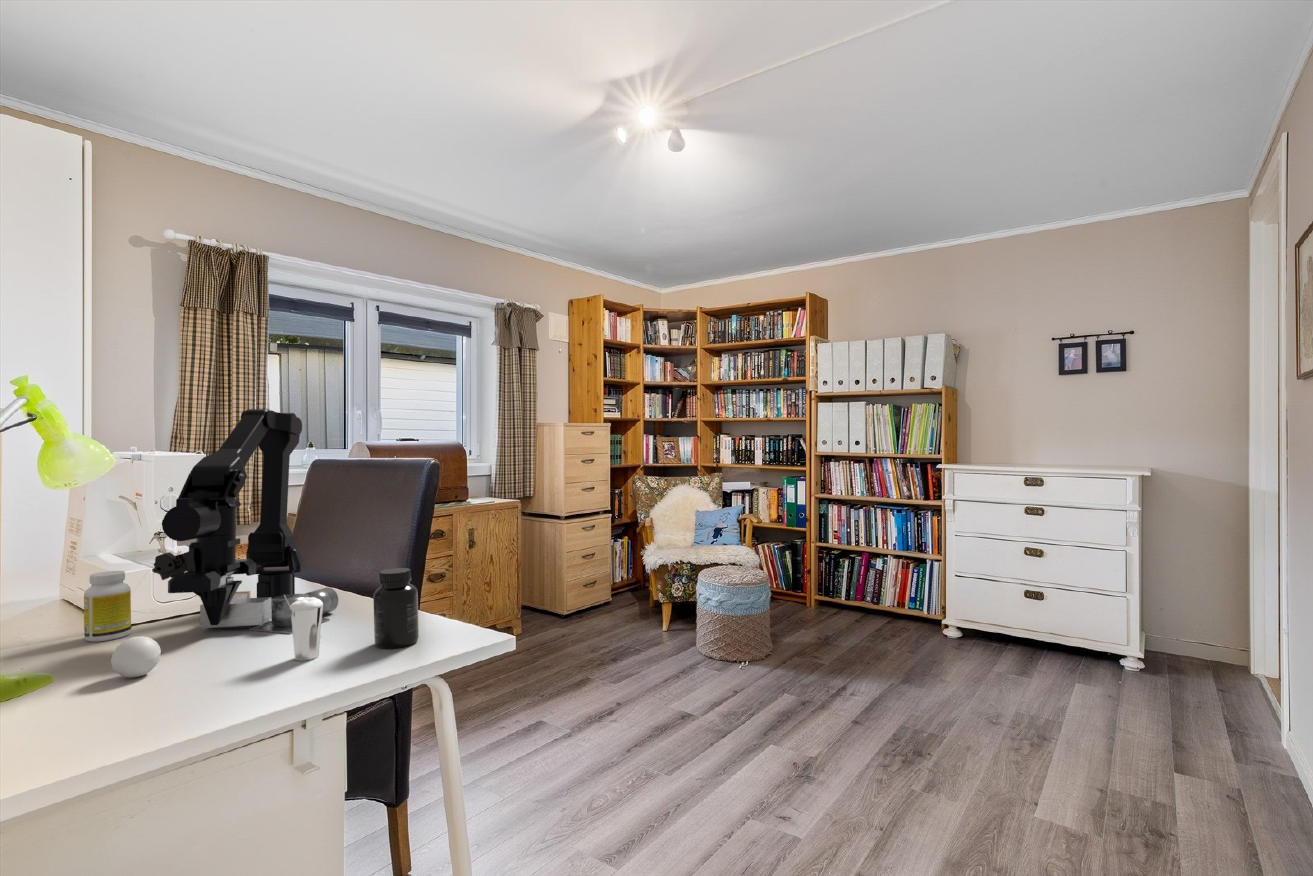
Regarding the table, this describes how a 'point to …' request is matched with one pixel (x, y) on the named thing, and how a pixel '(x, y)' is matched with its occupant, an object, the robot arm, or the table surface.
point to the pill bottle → (107, 607)
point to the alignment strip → (241, 626)
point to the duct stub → (282, 610)
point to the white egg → (136, 657)
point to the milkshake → (306, 627)
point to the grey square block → (241, 612)
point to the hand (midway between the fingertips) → (214, 624)
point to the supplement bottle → (395, 610)
